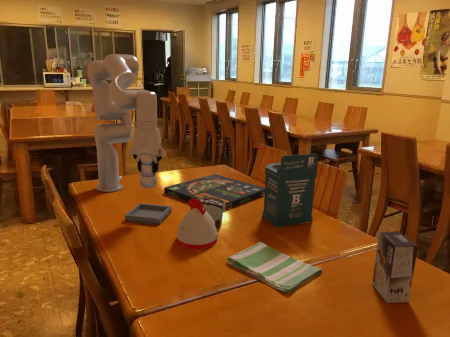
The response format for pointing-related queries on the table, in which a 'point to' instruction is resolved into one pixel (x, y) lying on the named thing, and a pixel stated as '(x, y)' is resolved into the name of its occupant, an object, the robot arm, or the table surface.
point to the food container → (214, 208)
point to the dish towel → (273, 267)
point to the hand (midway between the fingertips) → (148, 171)
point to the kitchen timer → (197, 228)
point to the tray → (148, 214)
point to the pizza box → (216, 190)
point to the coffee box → (394, 266)
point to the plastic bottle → (147, 170)
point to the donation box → (290, 190)
